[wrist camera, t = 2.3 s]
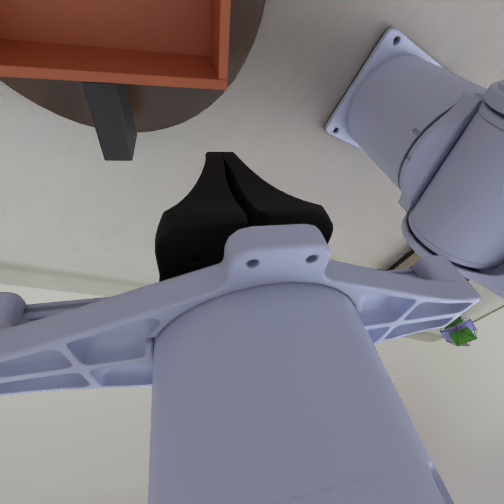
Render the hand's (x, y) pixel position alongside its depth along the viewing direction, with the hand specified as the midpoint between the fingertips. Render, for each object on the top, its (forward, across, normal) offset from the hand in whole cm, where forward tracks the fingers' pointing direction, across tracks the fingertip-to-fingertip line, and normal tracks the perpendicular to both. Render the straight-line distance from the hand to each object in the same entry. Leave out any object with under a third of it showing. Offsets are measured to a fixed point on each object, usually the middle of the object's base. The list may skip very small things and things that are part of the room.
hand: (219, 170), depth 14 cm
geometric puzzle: (+10, -57, +46) cm, 74 cm away
